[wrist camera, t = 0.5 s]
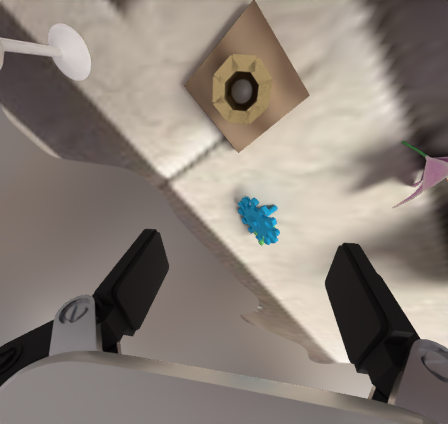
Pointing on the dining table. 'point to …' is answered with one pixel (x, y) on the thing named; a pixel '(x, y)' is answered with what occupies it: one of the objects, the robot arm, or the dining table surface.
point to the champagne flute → (56, 51)
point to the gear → (259, 220)
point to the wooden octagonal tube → (223, 88)
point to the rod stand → (249, 78)
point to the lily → (429, 173)
